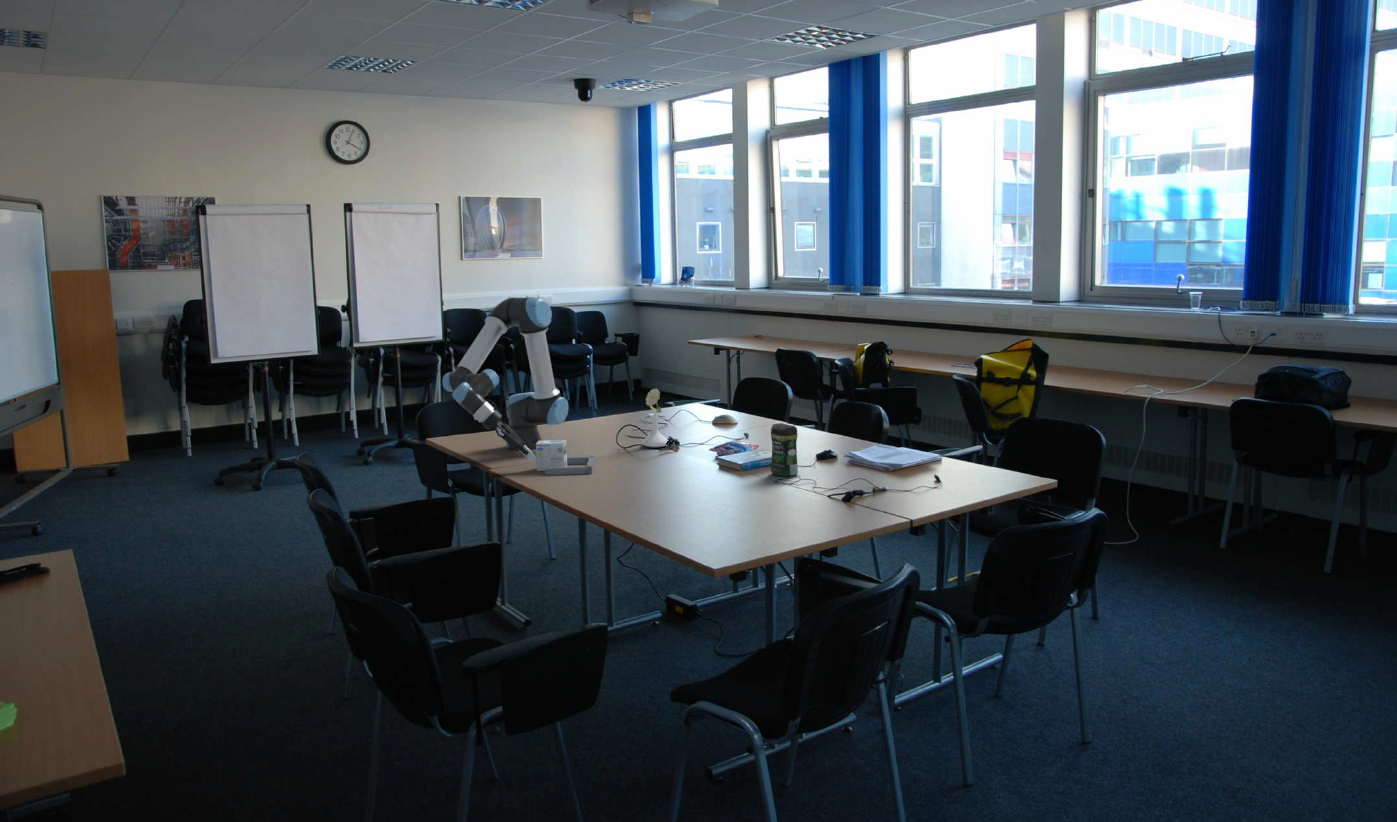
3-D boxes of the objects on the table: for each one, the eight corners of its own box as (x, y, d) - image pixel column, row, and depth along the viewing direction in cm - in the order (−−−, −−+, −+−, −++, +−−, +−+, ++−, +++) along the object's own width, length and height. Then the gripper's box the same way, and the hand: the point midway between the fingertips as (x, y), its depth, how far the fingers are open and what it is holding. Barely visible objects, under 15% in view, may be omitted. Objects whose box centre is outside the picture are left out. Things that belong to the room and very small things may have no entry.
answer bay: (551, 463, 378) (550, 457, 378) (594, 462, 379) (594, 456, 378) (545, 475, 358) (545, 468, 358) (591, 473, 359) (591, 467, 359)
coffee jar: (767, 474, 352) (766, 423, 349) (784, 470, 356) (783, 421, 353) (784, 478, 344) (784, 427, 341) (801, 475, 348) (801, 424, 346)
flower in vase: (639, 445, 412) (637, 386, 408) (665, 443, 415) (663, 385, 411) (646, 450, 400) (644, 390, 396) (673, 448, 403) (671, 389, 399)
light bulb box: (567, 467, 371) (566, 439, 370) (565, 470, 365) (563, 442, 363) (539, 467, 372) (538, 439, 370) (536, 471, 365) (535, 443, 363)
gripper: (484, 420, 369) (530, 462, 373) (478, 426, 357) (525, 470, 360) (497, 406, 369) (543, 449, 372) (491, 411, 356) (539, 455, 359)
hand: (534, 459), depth 366 cm, fingers closed
